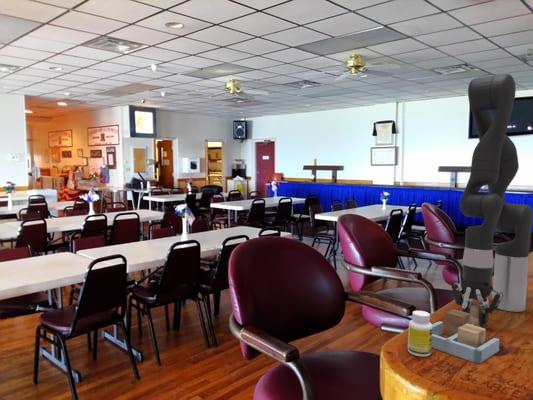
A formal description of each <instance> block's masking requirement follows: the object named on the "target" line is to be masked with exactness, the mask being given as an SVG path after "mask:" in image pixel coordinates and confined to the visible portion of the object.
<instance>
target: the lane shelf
mask: <svg viewBox="0 0 533 400" xmlns="http://www.w3.org/2000/svg"><path fill="white" fill-rule="evenodd" d="M431 324H432V328H433V329H432V346H431V349H435V350H439V351H440V352H443V353H446V354H449V355H451V356H455V357H458V358H460V359H464V360H466V361H469V362H472V363H475V364H477V365H479V364H481V363H483V362H485V361H486V360H488V359H489V358H490V357H492V356H493V355H495V354H497V353H498V352H499V351H500V338H496V337H493V338H492V339H490V340H488V341H487V342H486V341H485V344H483V345H481V346H480V347H478V348H474V347H471V346H468V345H465V344H462V343H459V342H457V337H458V333H457V334H455V335H453V336H449V337H447V338H446V337H443V336H441V335H442V334H443V333H444V322H443V321H436V322H435V323H431Z"/></svg>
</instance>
